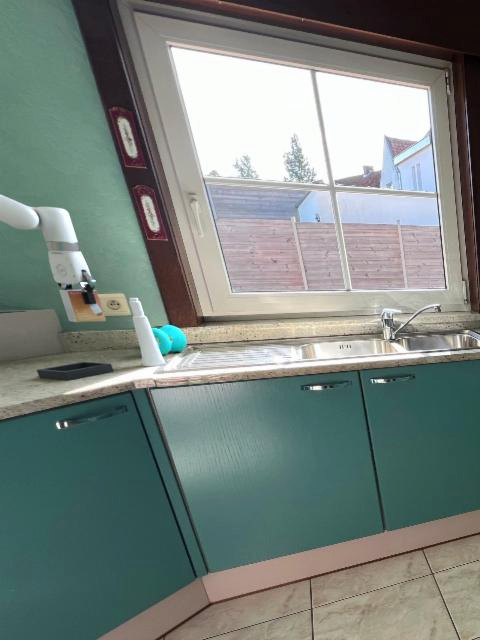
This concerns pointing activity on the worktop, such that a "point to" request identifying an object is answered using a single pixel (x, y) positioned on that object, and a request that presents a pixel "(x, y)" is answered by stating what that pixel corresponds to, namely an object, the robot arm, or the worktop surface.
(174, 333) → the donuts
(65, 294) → the small box
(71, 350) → the worktop surface
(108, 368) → the black tray
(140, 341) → the cosmetic bottle
